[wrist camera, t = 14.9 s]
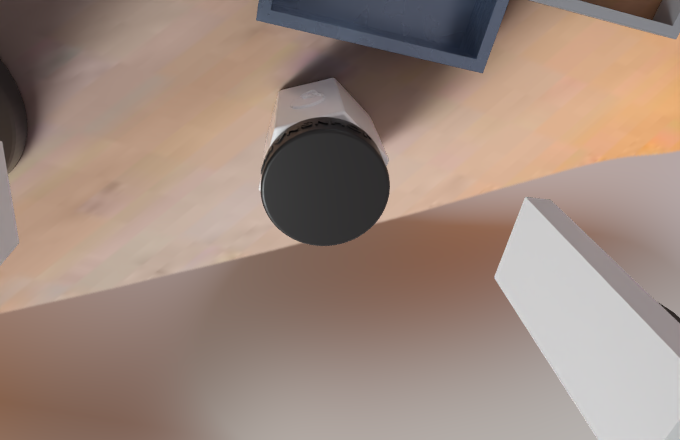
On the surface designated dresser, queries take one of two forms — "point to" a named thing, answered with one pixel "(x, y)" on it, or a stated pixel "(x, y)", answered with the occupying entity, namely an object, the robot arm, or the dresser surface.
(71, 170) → the dresser surface
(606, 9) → the frame
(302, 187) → the jar
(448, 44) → the bin
